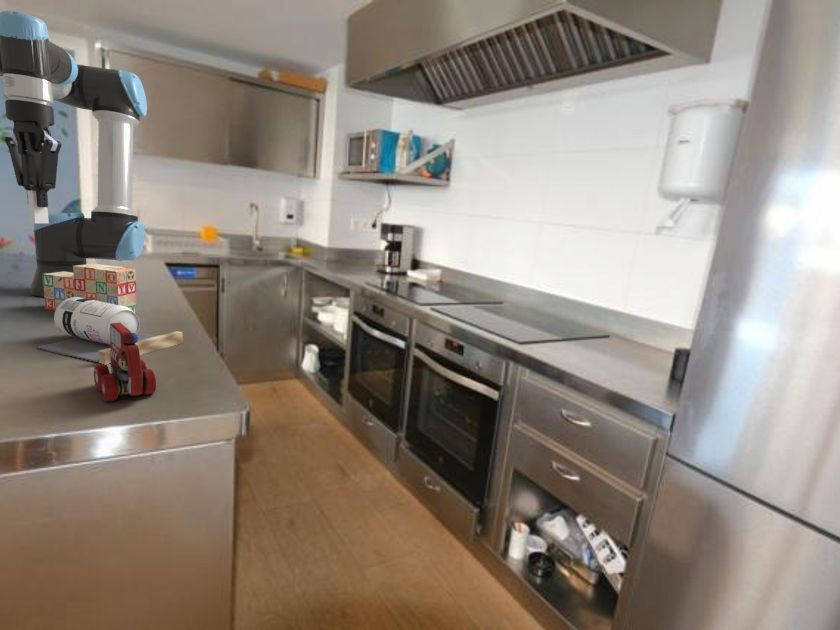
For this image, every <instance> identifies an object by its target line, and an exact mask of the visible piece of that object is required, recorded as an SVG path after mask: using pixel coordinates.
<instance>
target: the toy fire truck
mask: <svg viewBox="0 0 840 630" xmlns="http://www.w3.org/2000/svg"><path fill="white" fill-rule="evenodd" d="M109 329H110V344H111V345H110V347H111V353H110V354H111V356H110V357H111V364H110V368H109V366H108V364H107V365H103V364H97V365H95V366H94V368H93V380H94V386H95V388H96V390H97V391H99V392H101V396H102V400H103V402H107V403H108V402H113V401H116V400H117V399H118V398H119V397H118V396H120V395H123V394H124V393H127V394H129V395H130V396H139V395H140V396H141V395H142V394H143V395H144V396H147V395H153V394H155V393H156V389H157V380H156V374H155V372H154V370H153V369H150V368H149V369H148V368H147V364H146V361H144V360H142V358H141V355H140V352H139V347H138V346H137V345H136V344H135V343H137V342H138V336H137V335H136V334H135V333H132V332H131V331H130V330H129V329H127V328H126V327H125V326H124V325H123V324H121V323H111V324H110V328H109Z"/></svg>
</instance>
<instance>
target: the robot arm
mask: <svg viewBox="0 0 840 630" xmlns="http://www.w3.org/2000/svg"><path fill="white" fill-rule="evenodd" d="M49 39H50V35H49V32H48V26H47V23H46V22H45V21H44V20H42V19H41V18H38V17H36V16H33V15H30V14H27V13H23V12H18V11H13V10H12V11H11V10H2V11H0V79H1V80H2V83H3V94H4V96H5V97H7V98H8V99H6V100H4V106H5V107H4V108H5V117H6V118H7V120H9V121H11V122H13V128H12V133H13V134H12V136H5V137H4V142H5V144H6V146H7V148H8V150H9V154H10V155H9V156H10V159H11V164H12V166H13V170H14V175H15V178H16V182H17V183H16V184H17V185H18V186H19V187H23V188H24V190H25V191H26V196H27V197H26V199H27V204H28V216H29V222H30V224H33V229H32V232H33V236H34V245H35V248H34V249H35V260H36V269H35V272H34V275H33V277H32V282H31V285H30V293H31V295H32V296H36V297H41V298H43V297H44V286H43V277H42V274H47V273H54V272H72V273H74V272H73V266H77V265H86V264H87V263H88V262H87V259H89V260H90V259H91V260H106V261H107V260H109V261H110V260H111V261H119V262H121V261H135V260H136V259H138V258H139V257H140V255H141V254H142V252H143V249H144V245H145V239H146V231H145V225H144V223H143V222H141V221H140V220H139V215H138V214H137V213H136V212H135V211H134V210H133V178H134V177H133V176H134V175H133V172H134V171H133V169H134V165H133V164H134V162H133V161H134V128H136V127H137V126H139V124H140V119H141V118H143V117H146V116H147V114H148V113H147V112H148V103H147V98H146V92H145V89H144V86H143V84H142V81H141V78H139V76H137V75H136V74H135V73H134V72H130V71H126V70H121V69H115V68H114V69H111V68H106V67H98V66H92V65H84V64H77V62H76V60H75V59H74V57H73V56H72V55H71V54H70V53H68V51H67V50H66V49H64V48H63V47H61V46H60V45H57V44H56V43H53V42H52V41H50V40H49ZM54 101H56V102H59V103H61V104H65V105H66V106H67V105H68V106H70V107H74V108H78V109H82V110H88V111H91V114H92V117H94V119H95V120H96V121H97V123H98V126H97V127H98V133H97V134H98V135H97V136H98V139H97V140H98V141H97V142H98V143H97V146H98V147H97V205H96V207H95V208H93V209H91V212H90V218H89V217H88V218H87V217H85V214H84V213H83V212H62V213H49V210H48V207H49V201H48V200H49V199H48V192H49V191H50V190H51V189H52V190H54V189H56V183H57V173H58V161H59V153H60V151H61V148H62V141H59V140H55V139H54V138H53V137H52V132H51V130H50V127H52V126H55V112H54V110H55V109H54V108H53V106H51V105H52V104H53V103H54Z"/></svg>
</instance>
